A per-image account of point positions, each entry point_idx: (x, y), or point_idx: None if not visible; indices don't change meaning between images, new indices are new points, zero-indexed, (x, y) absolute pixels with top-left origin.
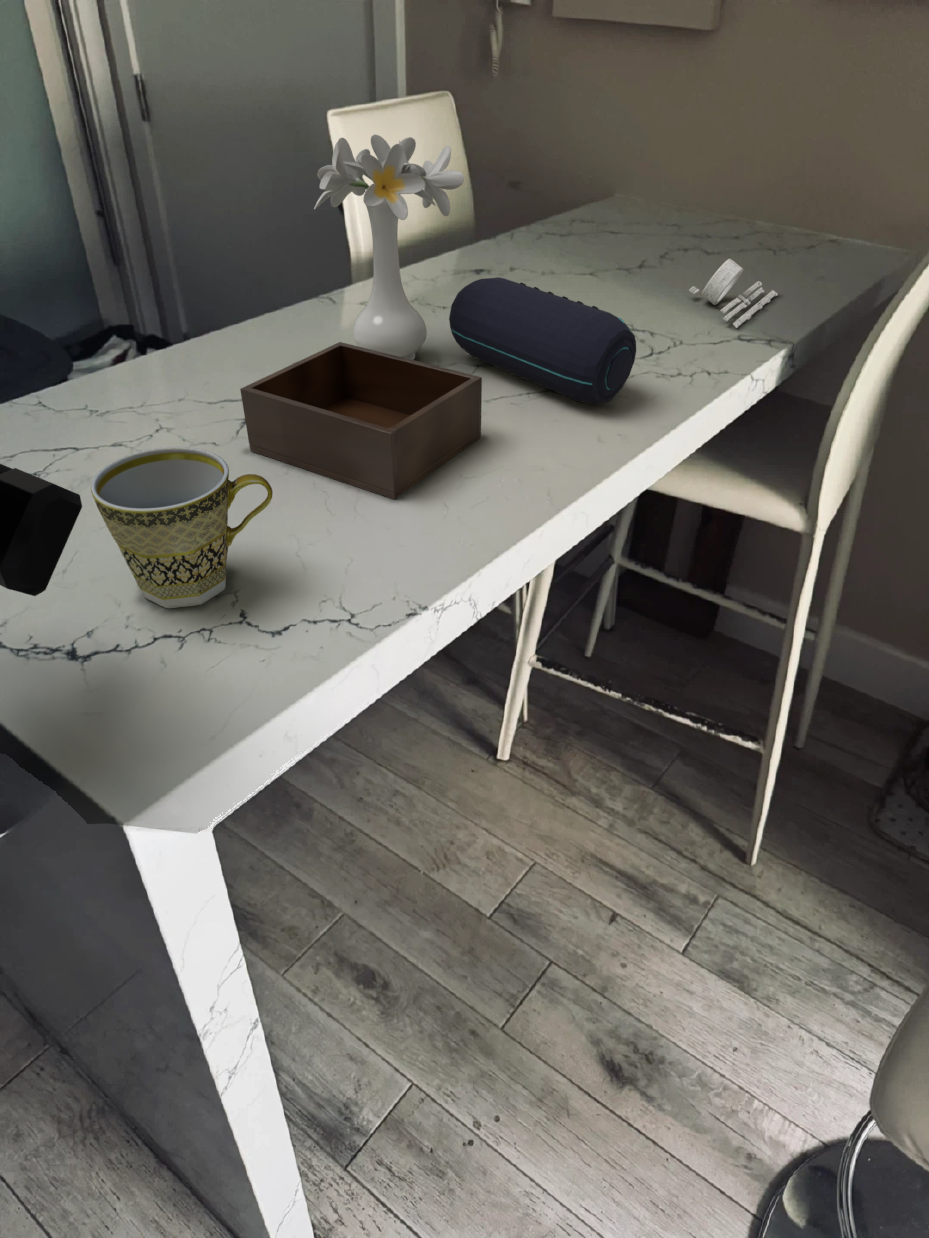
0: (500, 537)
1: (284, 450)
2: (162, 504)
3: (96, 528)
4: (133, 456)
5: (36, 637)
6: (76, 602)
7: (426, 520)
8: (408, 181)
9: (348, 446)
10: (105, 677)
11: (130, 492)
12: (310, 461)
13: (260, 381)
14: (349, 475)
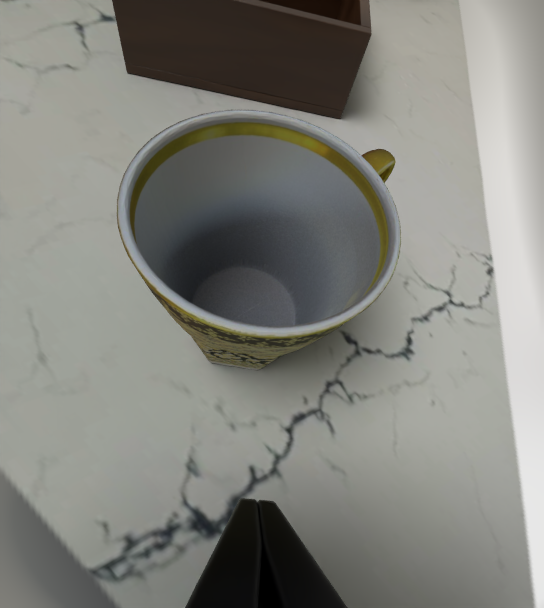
0: (462, 148)
1: (185, 68)
2: (188, 222)
3: (21, 254)
4: (147, 155)
5: (114, 521)
6: (116, 414)
7: (390, 140)
8: None
9: (293, 56)
10: None
11: (152, 227)
12: (226, 81)
13: None
14: (283, 95)
